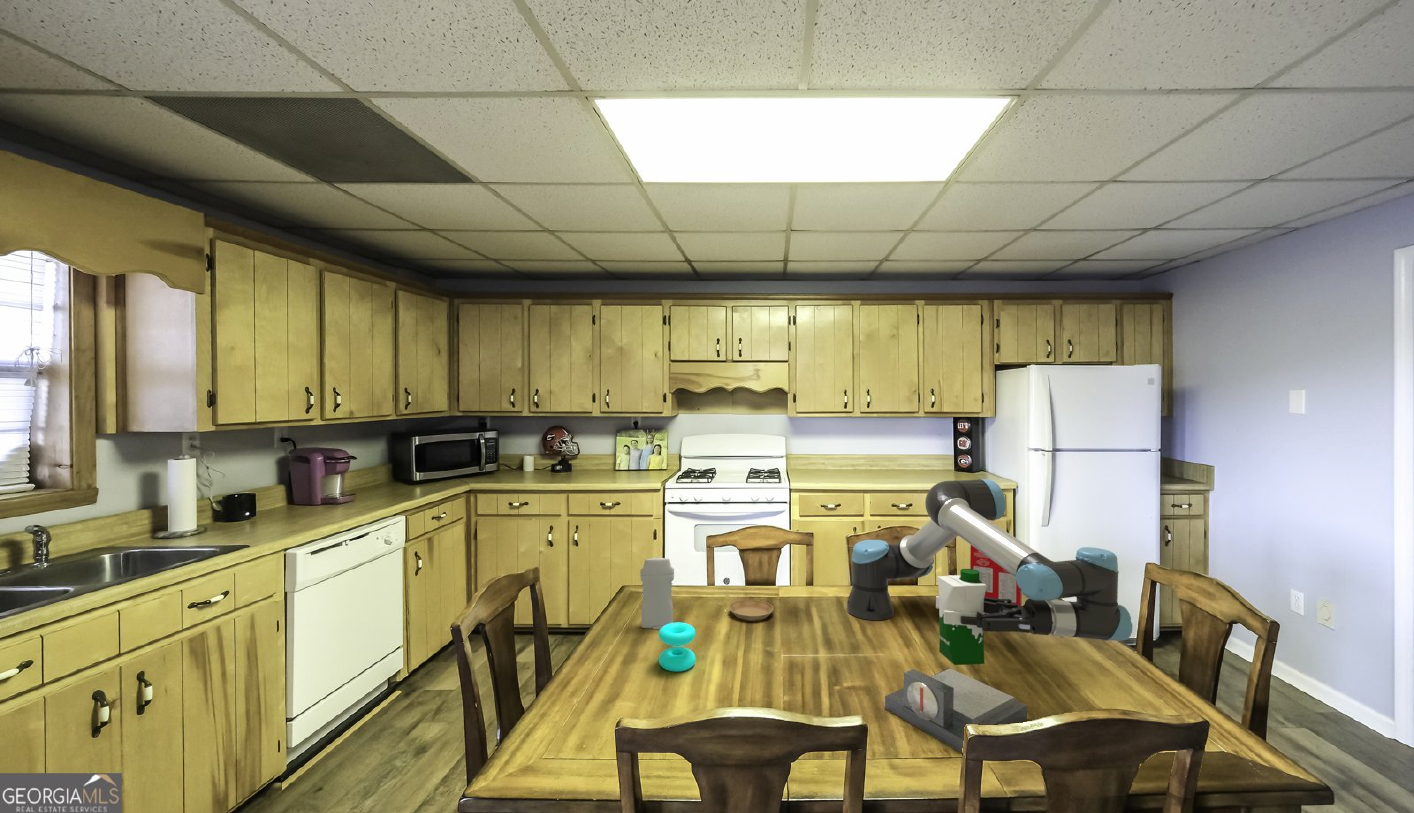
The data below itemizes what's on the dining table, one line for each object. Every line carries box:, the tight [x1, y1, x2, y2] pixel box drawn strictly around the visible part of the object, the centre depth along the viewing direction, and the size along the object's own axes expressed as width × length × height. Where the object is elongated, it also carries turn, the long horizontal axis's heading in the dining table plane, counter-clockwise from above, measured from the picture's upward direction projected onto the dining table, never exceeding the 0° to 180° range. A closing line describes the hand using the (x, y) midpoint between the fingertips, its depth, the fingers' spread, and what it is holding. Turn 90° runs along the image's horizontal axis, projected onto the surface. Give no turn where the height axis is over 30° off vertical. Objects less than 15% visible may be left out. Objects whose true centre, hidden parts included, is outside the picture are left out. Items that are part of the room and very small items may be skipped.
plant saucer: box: [728, 599, 774, 622], centre depth 187 cm, size 15×15×3 cm
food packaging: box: [969, 544, 1023, 614], centre depth 186 cm, size 15×5×25 cm, turn 58°
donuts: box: [658, 621, 697, 672], centre depth 152 cm, size 10×10×10 cm
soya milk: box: [936, 568, 987, 666], centre depth 130 cm, size 9×9×20 cm
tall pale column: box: [639, 557, 675, 630], centre depth 177 cm, size 11×4×22 cm, turn 95°
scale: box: [884, 668, 1028, 754], centre depth 129 cm, size 20×24×10 cm
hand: (940, 609), depth 131 cm, fingers closed on soya milk, 9 cm apart
